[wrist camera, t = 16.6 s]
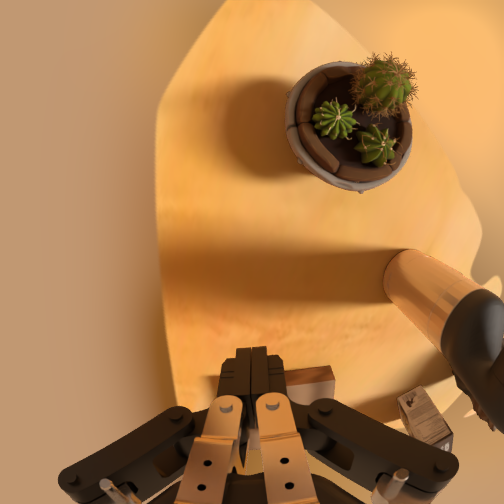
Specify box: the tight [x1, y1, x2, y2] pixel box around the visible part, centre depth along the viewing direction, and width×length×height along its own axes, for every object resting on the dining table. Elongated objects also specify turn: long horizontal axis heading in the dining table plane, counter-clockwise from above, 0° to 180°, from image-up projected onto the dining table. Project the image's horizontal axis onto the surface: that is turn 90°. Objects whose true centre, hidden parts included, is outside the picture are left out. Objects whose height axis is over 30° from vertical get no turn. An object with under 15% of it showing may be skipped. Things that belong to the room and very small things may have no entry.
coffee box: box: [397, 385, 453, 453], centre depth 41 cm, size 9×6×16 cm
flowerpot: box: [285, 52, 416, 194], centre depth 26 cm, size 14×15×20 cm
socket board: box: [249, 366, 335, 450], centre depth 46 cm, size 18×18×4 cm
